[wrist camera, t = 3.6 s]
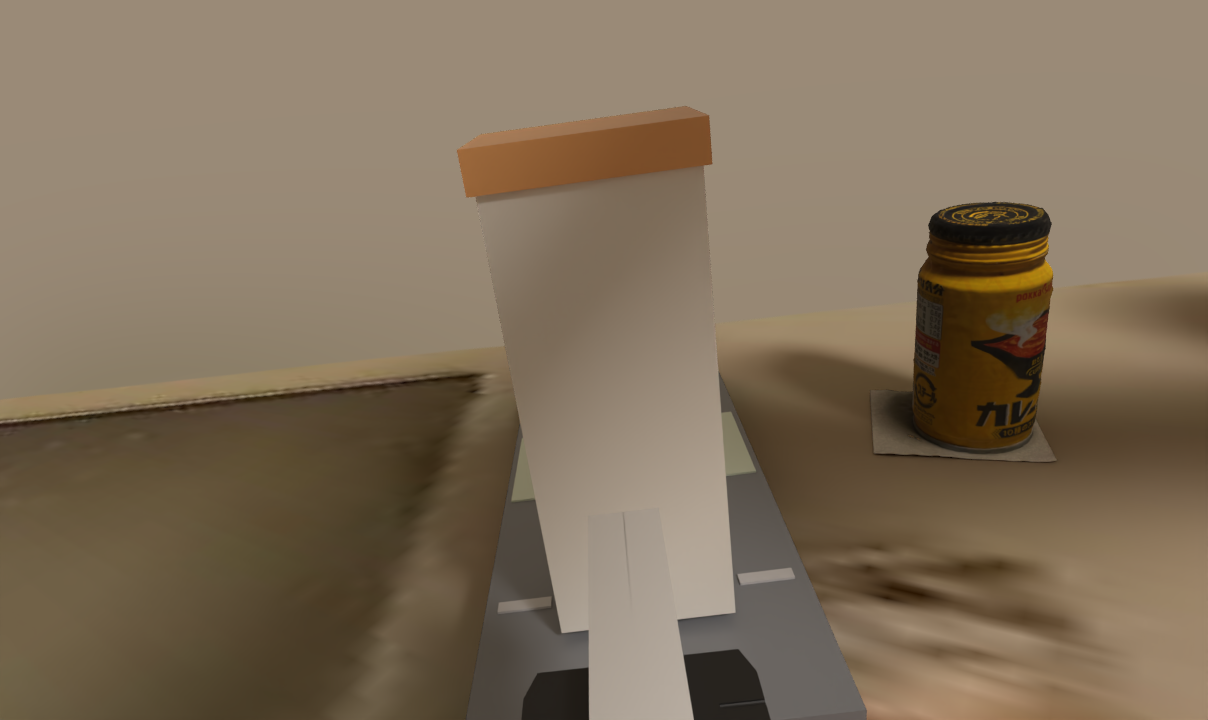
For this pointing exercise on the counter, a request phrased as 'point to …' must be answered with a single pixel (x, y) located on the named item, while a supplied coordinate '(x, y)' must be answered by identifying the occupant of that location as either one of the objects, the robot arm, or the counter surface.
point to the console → (758, 628)
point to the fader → (611, 337)
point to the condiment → (975, 340)
